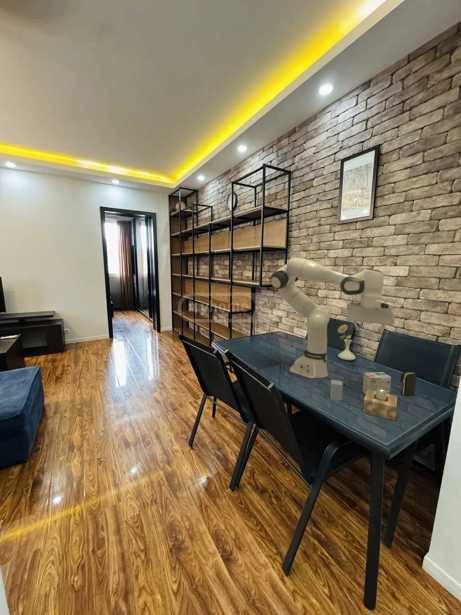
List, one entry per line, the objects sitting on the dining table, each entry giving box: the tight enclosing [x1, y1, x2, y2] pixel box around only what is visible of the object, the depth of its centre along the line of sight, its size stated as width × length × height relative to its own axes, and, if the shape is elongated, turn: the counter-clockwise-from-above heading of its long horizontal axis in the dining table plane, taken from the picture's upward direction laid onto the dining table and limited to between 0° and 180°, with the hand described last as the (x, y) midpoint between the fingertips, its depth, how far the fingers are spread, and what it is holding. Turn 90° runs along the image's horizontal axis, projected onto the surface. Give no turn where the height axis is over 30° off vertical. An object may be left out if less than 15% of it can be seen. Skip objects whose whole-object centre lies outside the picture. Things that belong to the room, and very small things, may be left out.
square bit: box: [329, 379, 344, 402], centre depth 126 cm, size 5×5×8 cm
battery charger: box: [399, 371, 418, 397], centre depth 130 cm, size 7×4×11 cm, turn 105°
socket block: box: [362, 389, 398, 421], centre depth 115 cm, size 12×12×6 cm
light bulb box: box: [362, 371, 392, 395], centre depth 129 cm, size 11×7×11 cm, turn 92°
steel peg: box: [376, 387, 387, 401], centre depth 115 cm, size 4×4×10 cm
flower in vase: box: [337, 324, 356, 361], centre depth 181 cm, size 13×11×25 cm
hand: (368, 331), depth 123 cm, fingers open, 8 cm apart
